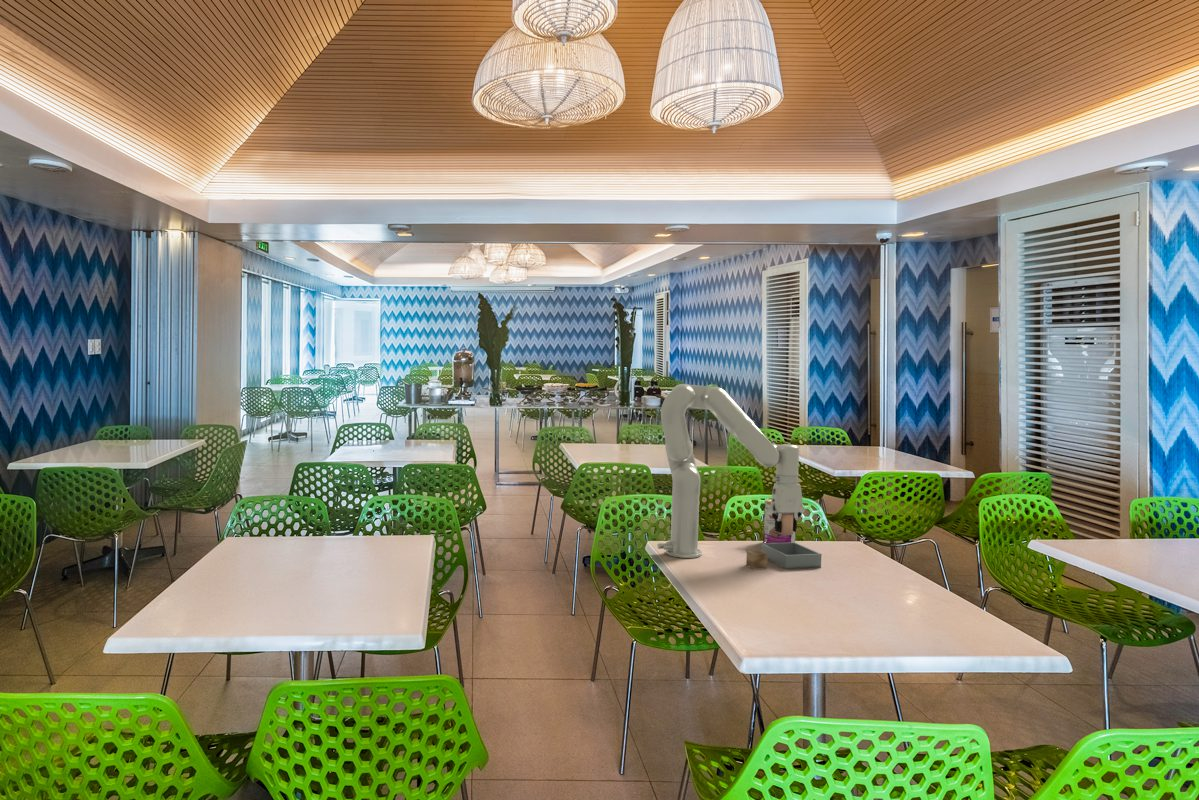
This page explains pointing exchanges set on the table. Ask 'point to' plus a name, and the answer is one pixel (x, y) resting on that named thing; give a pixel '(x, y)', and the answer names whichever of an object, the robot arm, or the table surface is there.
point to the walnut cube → (756, 559)
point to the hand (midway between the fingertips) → (785, 530)
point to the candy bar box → (773, 529)
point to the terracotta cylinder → (787, 523)
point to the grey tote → (791, 555)
